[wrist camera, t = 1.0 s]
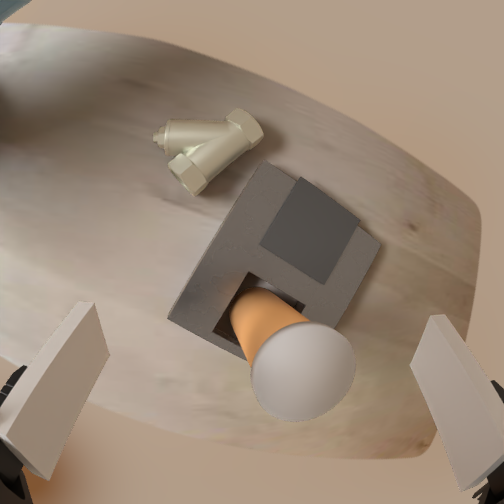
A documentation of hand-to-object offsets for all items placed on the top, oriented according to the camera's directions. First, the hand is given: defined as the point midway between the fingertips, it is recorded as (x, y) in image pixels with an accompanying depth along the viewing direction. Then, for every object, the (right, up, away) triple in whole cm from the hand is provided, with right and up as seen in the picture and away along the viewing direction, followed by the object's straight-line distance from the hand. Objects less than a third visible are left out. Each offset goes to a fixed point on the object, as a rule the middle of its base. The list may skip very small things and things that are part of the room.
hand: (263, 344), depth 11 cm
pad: (+5, +5, +16) cm, 18 cm away
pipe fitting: (-5, +13, +16) cm, 22 cm away
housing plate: (+2, +1, +18) cm, 18 cm away
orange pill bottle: (0, -2, +18) cm, 18 cm away
